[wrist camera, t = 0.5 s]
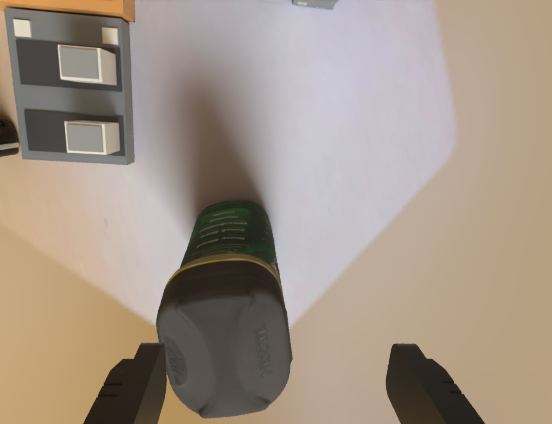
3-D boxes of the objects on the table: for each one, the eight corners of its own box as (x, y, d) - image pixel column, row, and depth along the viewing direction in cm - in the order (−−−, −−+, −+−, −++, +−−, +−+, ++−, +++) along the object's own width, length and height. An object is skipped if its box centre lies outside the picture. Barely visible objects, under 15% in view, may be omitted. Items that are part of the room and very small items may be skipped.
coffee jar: (189, 204, 36) (130, 297, 18) (267, 193, 36) (285, 275, 18) (206, 289, 39) (169, 444, 21) (278, 279, 39) (304, 422, 21)
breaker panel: (19, 14, 30) (2, 7, 28) (129, 24, 31) (120, 18, 29) (35, 156, 33) (21, 159, 31) (134, 161, 34) (126, 165, 32)
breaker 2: (82, 120, 31) (63, 121, 27) (118, 122, 31) (103, 124, 28) (84, 148, 31) (65, 152, 28) (120, 150, 32) (105, 155, 28)
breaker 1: (77, 51, 29) (56, 44, 26) (115, 54, 29) (98, 47, 26) (79, 82, 30) (59, 79, 27) (116, 85, 30) (101, 82, 27)
